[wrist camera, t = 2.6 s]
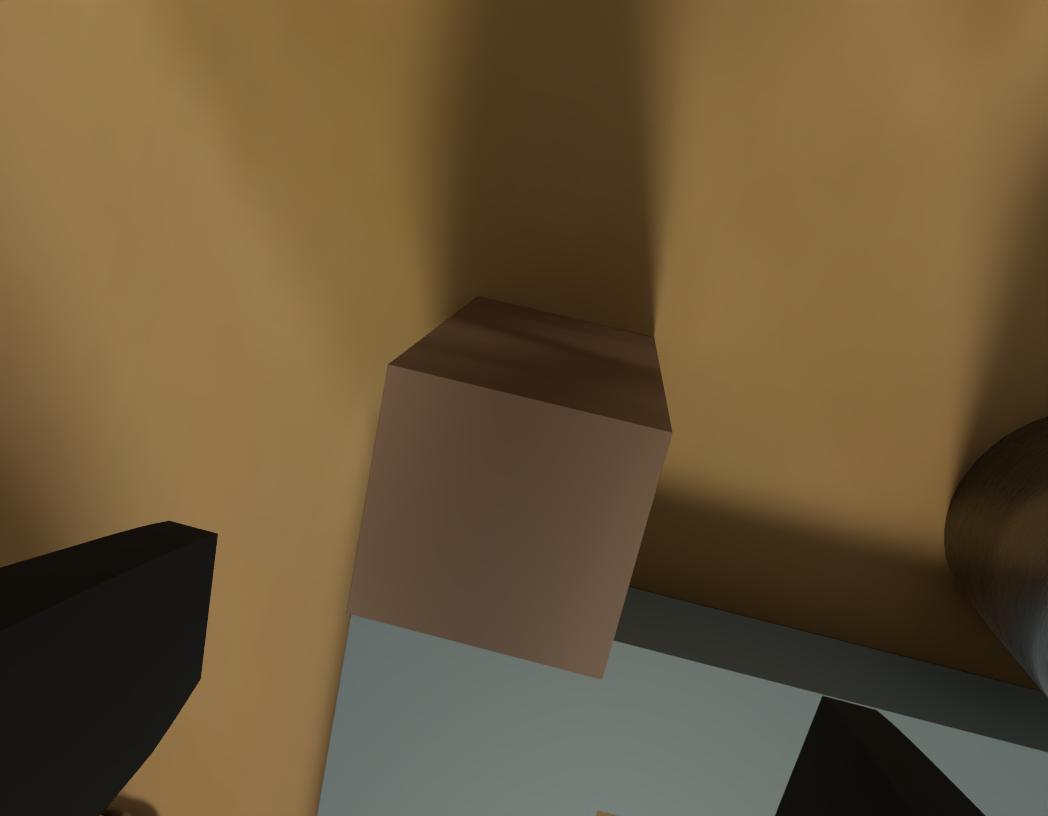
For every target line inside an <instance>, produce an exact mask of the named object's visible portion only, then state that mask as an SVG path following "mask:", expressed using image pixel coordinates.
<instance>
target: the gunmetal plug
mask: <svg viewBox="0 0 1048 816" xmlns="http://www.w3.org/2000/svg"><path fill="white" fill-rule="evenodd" d="M944 546H945V554H946V560H947V563H948V566H949V570H950V573H951V575H952V577H953V579H954V581H955V583H956V585H957V587H958V588H959V590H960V591H961V593H962V594H963V596H964V597H965V598H966V600H967V601H968V602H969V603H970V604H971V606H972V607H973V608H974V609H975V610H976V612H977V613H978V614H979V615H980V617H981V618H982V619H983V620H984V621H985V623H986V624H987V625H988V626H989V627H990V629H991V630H992V631H993V632H994V633H995V635H996V636H997V637H998V638H999V640H1000V641H1001V642H1002V643H1003V644H1004V646H1005V647H1006V648H1007V649H1008V650H1009V652H1010V653H1011V654H1012V655H1013V657H1014V658H1015V659H1016V660H1017V661H1018V663H1019V664H1020V665H1021V666H1022V667H1023V669H1024V670H1025V671H1026V672H1027V674H1028V675H1029V676H1030V677H1031V678H1032V680H1033V681H1034V682H1035V683H1036V684H1037V686H1038V687H1039V688H1040V689H1041V691H1042V692H1043V693H1044V694H1045V695H1046V697H1047V698H1048V417H1046V418H1042V419H1039V420H1037V421H1035V422H1032V423H1030V424H1028V425H1025V426H1023V427H1021V428H1019V429H1018V430H1016V431H1014V432H1012V433H1011V434H1009V435H1007V436H1006V437H1004V438H1003V439H1001V440H1000V441H999V442H997V443H996V444H995V445H993V446H992V447H991V448H990V449H989V450H988V451H986V452H985V453H984V454H983V455H982V456H981V457H980V458H979V459H978V460H977V461H976V462H975V464H974V465H973V466H972V467H971V468H970V469H969V471H968V472H967V474H966V475H965V477H964V478H963V480H962V481H961V483H960V484H959V486H958V488H957V490H956V492H955V494H954V496H953V498H952V501H951V504H950V507H949V510H948V513H947V518H946V523H945V529H944Z"/></svg>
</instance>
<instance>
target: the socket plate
mask: <svg viewBox="0 0 1048 816" xmlns="http://www.w3.org/2000/svg"><path fill="white" fill-rule="evenodd" d="M822 695H823V696H826V697H830V698H834V699H838V700H841V701H845V702H849V703H853V704H856V705H860V706H864V707H867V708H871V709H875V710H877V711H878V712H880V713H881V714H882V715H883V716H884V717H886V718H887V719H888V720H889V721H890V722H891V723H892V724H894V725H895V726H896V727H897V728H898V729H899V730H900V731H901V732H902V733H903V734H904V735H905V736H906V737H907V738H908V739H910V740H911V741H912V742H913V743H914V744H915V745H916V746H917V747H918V748H919V749H920V750H921V751H922V752H923V753H924V754H925V755H926V756H927V757H928V758H929V759H930V760H931V761H932V762H933V763H934V764H935V765H936V766H937V767H938V768H939V769H940V770H941V771H942V772H943V773H944V774H945V775H946V776H947V777H948V778H949V779H950V780H951V781H952V782H953V783H954V784H955V785H956V786H957V787H958V788H959V789H960V790H961V791H962V792H963V793H964V794H965V795H966V796H967V797H968V798H969V799H970V800H971V801H972V802H973V803H974V804H975V805H976V806H977V807H978V808H979V809H980V811H981V812H982V813H983V814H984V815H985V816H1048V698H1047V697H1046V695H1045V694H1044V693H1043V692H1042V691H1038V690H1034V689H1030V688H1026V687H1022V686H1018V685H1014V684H1010V683H1006V682H1002V681H998V680H994V679H990V678H986V677H982V676H978V675H974V674H970V673H966V672H963V671H959V670H955V669H951V668H947V667H943V666H939V665H935V664H931V663H927V662H923V661H919V660H915V659H911V658H907V657H903V656H899V655H895V654H891V653H887V652H884V651H880V650H876V649H872V648H868V647H864V646H860V645H856V644H852V643H848V642H844V641H840V640H836V639H832V638H828V637H824V636H820V635H816V634H812V633H808V632H805V631H801V630H797V629H793V628H789V627H785V626H781V625H777V624H773V623H769V622H765V621H761V620H757V619H753V618H749V617H745V616H741V615H737V614H733V613H729V612H725V611H722V610H718V609H714V608H710V607H706V606H702V605H698V604H694V603H690V602H686V601H682V600H678V599H674V598H670V597H666V596H662V595H658V594H654V593H650V592H646V591H643V590H639V589H635V588H631V587H628V591H627V594H626V598H625V601H624V605H623V608H622V612H621V615H620V619H619V622H618V626H617V630H616V633H615V637H614V640H613V644H612V647H611V651H610V654H609V658H608V661H607V665H606V668H605V672H604V675H603V679H602V680H601V679H597V678H593V677H589V676H585V675H582V674H578V673H574V672H570V671H566V670H562V669H558V668H555V667H551V666H547V665H543V664H539V663H535V662H532V661H528V660H524V659H520V658H516V657H512V656H509V655H505V654H501V653H497V652H493V651H489V650H485V649H482V648H478V647H474V646H470V645H466V644H462V643H459V642H455V641H451V640H447V639H443V638H439V637H436V636H432V635H428V634H424V633H420V632H416V631H413V630H409V629H405V628H401V627H397V626H393V625H389V624H386V623H382V622H378V621H374V620H370V619H366V618H363V617H359V616H355V615H351V619H350V625H349V631H348V637H347V643H346V649H345V655H344V661H343V666H342V672H341V678H340V684H339V690H338V696H337V702H336V708H335V714H334V720H333V726H332V731H331V737H330V743H329V749H328V755H327V761H326V767H325V773H324V779H323V785H322V790H321V796H320V802H319V808H318V814H317V816H596V814H597V811H601V812H605V813H609V814H613V815H616V816H775V814H776V811H777V809H778V806H779V804H780V801H781V799H782V796H783V794H784V791H785V789H786V786H787V784H788V781H789V779H790V776H791V774H792V771H793V769H794V766H795V764H796V761H797V758H798V756H799V753H800V751H801V748H802V746H803V743H804V741H805V738H806V736H807V733H808V731H809V728H810V726H811V723H812V721H813V718H814V716H815V713H816V711H817V708H818V706H819V703H820V701H821V698H822Z"/></svg>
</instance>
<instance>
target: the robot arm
mask: <svg viewBox="0 0 1048 816" xmlns="http://www.w3.org/2000/svg"><path fill="white" fill-rule="evenodd" d="M217 536H218V534H217V533H213V532H209V531H206V530H202V529H198V528H194V527H191V526H187V525H183V524H179V523H176V522H172V521H166V522H161V523H156V524H151V525H147V526H143V527H139V528H135V529H131V530H127V531H124V532H120V533H117V534H113V535H110V536H106V537H103V538H99V539H96V540H92V541H89V542H86V543H82V544H79V545H76V546H72V547H69V548H66V549H62V550H59V551H55V552H52V553H49V554H45V555H42V556H38V557H35V558H32V559H28V560H25V561H21V562H18V563H15V564H11V565H8V566H4V567H1V568H0V816H102V815H100V814H101V813H102V812H103V811H104V810H105V809H106V807H107V806H108V805H109V804H110V803H111V801H112V800H113V799H114V798H115V797H116V796H117V794H118V793H119V792H120V791H121V790H122V788H123V787H124V786H125V785H126V784H127V782H128V781H129V780H130V779H131V778H132V777H133V775H134V774H135V773H136V772H137V771H138V769H139V768H140V767H141V766H142V765H143V763H144V762H145V761H146V760H147V758H148V757H149V756H150V755H151V754H152V752H153V751H154V749H155V748H156V746H157V745H158V743H159V742H160V740H161V739H162V737H163V736H164V735H165V733H166V732H167V730H168V729H169V727H170V726H171V724H172V723H173V721H174V720H175V718H176V717H177V715H178V714H179V712H180V710H181V709H182V707H183V706H184V704H185V703H186V701H187V699H188V698H189V696H190V695H191V693H192V692H193V690H194V689H195V687H196V685H197V684H198V682H199V681H200V679H201V671H202V663H203V654H204V646H205V638H206V629H207V621H208V612H209V604H210V595H211V587H212V578H213V570H214V562H215V553H216V545H217ZM775 816H985V815H984V814H983V813H982V812H981V811H980V809H979V808H978V807H977V806H976V805H975V804H974V803H973V802H972V801H971V800H970V799H969V798H968V797H967V796H966V795H965V794H964V793H963V792H962V791H961V790H960V789H959V788H958V787H957V786H956V785H955V784H954V783H953V782H952V781H951V780H950V779H949V778H948V777H947V776H946V775H945V774H944V773H943V772H942V771H941V770H940V769H939V768H938V767H937V766H936V765H935V764H934V763H933V762H932V761H931V760H930V759H929V758H928V757H927V756H926V755H925V754H924V753H923V752H922V751H921V750H920V749H919V748H918V747H917V746H916V745H915V744H914V743H913V742H912V741H911V740H910V739H908V738H907V737H906V736H905V735H904V734H903V733H902V732H901V731H900V730H899V729H898V728H897V727H896V726H895V725H894V724H892V723H891V722H890V721H889V720H888V719H887V718H886V717H884V716H883V715H882V714H881V713H880V712H878V711H877V710H875V709H871V708H867V707H864V706H860V705H856V704H853V703H849V702H845V701H841V700H838V699H834V698H830V697H826V696H823V695H822V698H821V701H820V703H819V706H818V708H817V711H816V713H815V716H814V718H813V721H812V723H811V726H810V728H809V731H808V733H807V736H806V738H805V741H804V743H803V746H802V748H801V751H800V753H799V756H798V758H797V761H796V764H795V766H794V769H793V771H792V774H791V776H790V779H789V781H788V784H787V786H786V789H785V791H784V794H783V796H782V799H781V801H780V804H779V806H778V809H777V811H776V814H775Z"/></svg>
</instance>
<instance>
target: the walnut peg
mask: <svg viewBox="0 0 1048 816" xmlns="http://www.w3.org/2000/svg"><path fill="white" fill-rule="evenodd" d="M671 436H672V429H671V423H670V418H669V413H668V408H667V402H666V397H665V392H664V387H663V381H662V376H661V371H660V366H659V360H658V355H657V350H656V345H655V339H654V338H653V337H649V336H645V335H641V334H636V333H632V332H628V331H623V330H619V329H615V328H611V327H606V326H602V325H598V324H594V323H589V322H585V321H581V320H576V319H572V318H568V317H564V316H559V315H555V314H551V313H546V312H542V311H538V310H534V309H529V308H525V307H521V306H517V305H512V304H508V303H504V302H499V301H495V300H491V299H487V298H482V297H477V298H475V299H474V300H473V301H471V302H470V303H469V304H467V305H466V306H465V307H463V308H462V309H461V310H459V311H458V312H457V313H455V314H454V315H453V316H451V317H450V318H449V319H447V320H446V321H445V322H443V323H442V324H441V325H440V326H438V327H437V328H436V329H434V330H433V331H432V332H430V333H429V334H428V335H426V336H425V337H424V338H422V339H421V340H420V341H418V342H417V343H416V344H414V345H413V346H412V347H410V348H409V349H408V350H406V351H405V352H404V353H402V354H401V355H400V356H399V357H397V358H396V359H395V360H393V361H392V362H391V363H389V364H388V368H387V374H386V380H385V386H384V392H383V398H382V404H381V410H380V416H379V422H378V428H377V434H376V440H375V446H374V452H373V458H372V464H371V470H370V476H369V482H368V488H367V494H366V500H365V506H364V512H363V518H362V524H361V530H360V535H359V541H358V547H357V553H356V559H355V565H354V571H353V577H352V583H351V589H350V595H349V601H348V607H347V614H351V615H355V616H359V617H363V618H366V619H370V620H374V621H378V622H382V623H386V624H389V625H393V626H397V627H401V628H405V629H409V630H413V631H416V632H420V633H424V634H428V635H432V636H436V637H439V638H443V639H447V640H451V641H455V642H459V643H462V644H466V645H470V646H474V647H478V648H482V649H485V650H489V651H493V652H497V653H501V654H505V655H509V656H512V657H516V658H520V659H524V660H528V661H532V662H535V663H539V664H543V665H547V666H551V667H555V668H558V669H562V670H566V671H570V672H574V673H578V674H582V675H585V676H589V677H593V678H597V679H601V680H602V679H603V675H604V672H605V668H606V665H607V661H608V658H609V654H610V651H611V647H612V644H613V640H614V637H615V633H616V630H617V626H618V622H619V619H620V615H621V612H622V608H623V605H624V601H625V598H626V594H627V591H628V587H629V584H630V580H631V577H632V573H633V570H634V566H635V563H636V559H637V555H638V552H639V548H640V545H641V541H642V538H643V534H644V531H645V527H646V524H647V520H648V517H649V513H650V510H651V506H652V503H653V499H654V496H655V492H656V488H657V485H658V481H659V478H660V474H661V471H662V467H663V464H664V460H665V457H666V453H667V450H668V446H669V443H670V439H671Z"/></svg>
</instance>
